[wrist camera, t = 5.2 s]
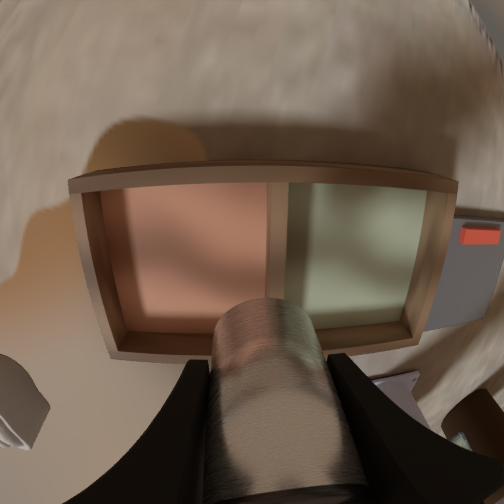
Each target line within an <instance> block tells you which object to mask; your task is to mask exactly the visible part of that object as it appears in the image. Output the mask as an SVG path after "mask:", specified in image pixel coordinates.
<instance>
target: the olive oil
mask: <svg viewBox="0 0 504 504" xmlns="http://www.w3.org/2000/svg"><path fill="white" fill-rule="evenodd" d="M441 428H442V430H443V432H444V434H445V436H446V438H447V440H449V441H451V442H452V443H455V444H457V445H459V446H461V447H463V448H465V449H468V450H470V451H473V452H475V453H478V454H481V455H484V456H487V457H491V458H494V459H498V460H501V461H502V463H503V465H504V412H503V411H502V409H501V408H500V407H499V405H498V404H497V403H496V401H495V400H494V399H493V397H492V396H491V395H490V393H489V392H488V391H487V390H486V389H480V390H478V391H476V392H474V393H472V394H471V395H469V396H468V397H466V398H465V399H464V400H462V401H461V402H460V403H459V404H458V405H456V406H455V407H454V408H453V409H452V410H451V411H450V412H449V413H448V415H447V416H446V417H445V418H444V420H443V422H442V424H441ZM503 497H504V486H503V487H501V488H500V489H499V490H498V491H496V492H495V493H493V494H492V495H491V496H489V497H488V498H486V499H485V500H483V501H484V503H485V504H495V503H496V502H498V501H499V500H500V499H502V498H503Z"/></svg>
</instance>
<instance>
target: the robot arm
mask: <svg viewBox="0 0 504 504" xmlns="http://www.w3.org/2000/svg"><path fill="white" fill-rule="evenodd" d="M326 362H327V365H328V368H329V370H330V373H331V376H332V379H333V382H334V384H335V387H336V390H337V393H338V396H339V399H340V401H341V404H342V407H343V410H344V413H345V416H346V419H347V422H348V425H349V428H350V431H351V434H352V437H353V440H354V443H355V446H356V449H357V452H358V455H359V458H360V461H361V464H362V467H363V470H364V474H365V477H366V480H367V483H368V486H369V490H370V493H371V496H372V499H373V503H374V504H485V503H484V501H483V500H485V499H486V498H488V497H489V496H491V495H492V494H493V493H495V492H496V491H498V490H499V489H500V488H501V487H503V486H504V465H503V463H502V461H501V460H498V459H494V458H491V457H487V456H484V455H481V454H478V453H475V452H473V451H470V450H468V449H465V448H463V447H461V446H459V445H457V444H455V443H452V442H451V441H449V440H447V439H445V438H443V437H441V436H440V435H438V434H436V433H434V432H433V431H431V429H430V427H429V425H428V423H427V421H426V419H425V418H424V416H423V414H422V412H421V410H420V408H419V406H418V405H417V403H416V401H415V399H414V397H413V396H412V394H411V392H412V390H413V388H414V386H415V384H416V382H417V380H418V378H419V376H420V373H419V371H414V372H409V373H405V374H401V375H396V376H392V377H387V378H382V379H377V380H370V379H369V378H368V377H367V376H366V375H365V374H364V373H363V372H362V370H361V369H360V368H359V367H358V366H357V365H356V364H355V363H354V362H353V361H352V360H351V359H350V358H349V357H348V356H347V355H346V354H345V353H337V354H328V357H327V361H326ZM209 379H210V372H209V364H208V360H199V359H190V360H188V361H187V363H186V365H185V367H184V370H183V372H182V374H181V376H180V378H179V379H178V381H177V383H176V385H175V387H174V388H173V390H172V392H171V394H170V395H169V397H168V398H167V400H166V402H165V403H164V405H163V406H162V408H161V410H160V411H159V413H158V414H157V415H156V417H155V418H154V419H153V421H152V422H151V424H150V425H149V426H148V428H147V429H146V431H145V432H144V433H143V435H141V437H140V438H139V439H138V440H137V441H136V443H135V444H134V445H133V446H132V447H131V448H130V449H129V451H128V452H127V453H126V454H125V455H124V456H123V457H122V458H121V459H120V460H119V461H118V462H117V463H116V464H115V465H114V466H113V467H112V468H110V469H109V470H108V471H107V472H106V473H105V474H104V475H102V476H101V477H100V478H99V479H98V480H96V481H95V482H94V483H93V484H91V485H90V486H89V487H88V488H86V489H85V490H83V491H82V492H80V493H79V494H77V495H76V496H74V497H73V498H71V499H69V500H68V501H66V502H64V503H63V504H202V499H203V475H204V455H205V437H206V421H207V406H208V392H209ZM495 504H504V497H503V498H502V499H500V500H499V501H498V502H496V503H495Z"/></svg>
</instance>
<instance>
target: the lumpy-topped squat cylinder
mask: <svg viewBox="0 0 504 504" xmlns="http://www.w3.org/2000/svg"><path fill="white" fill-rule="evenodd" d="M49 410H50V405H49V403H48V402H47V400H46V399H45V398H44V397H43V395H42V394H41V393H40V392H39V391H38V389H37V387H36V386H35V384H34V382H33V380H32V378H31V377H30V375H29V374H28V372H27V371H26V370H25V369H24V368H23V367H22V366H21V365H20V364H19V363H17V362H16V361H15V360H13V359H11V358H10V357H8V356H6V355H3V354H0V446H1V447H4V448H9V447H10V446H14V447H18V448H21V449H24V450H27V451H29V450H31V449H32V446H33V444H34V442H35V440H36V438H37V436H38V433H39V431H40V429H41V427H42V425H43V423H44V421H45V419H46V417H47V414H48V412H49Z"/></svg>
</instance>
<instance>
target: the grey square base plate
mask: <svg viewBox="0 0 504 504" xmlns="http://www.w3.org/2000/svg"><path fill="white" fill-rule="evenodd" d="M503 259H504V219H494V218H483V217H471V216H458V215H454V218H453V224H452V229H451V234H450V239H449V244H448V248H447V253H446V257H445V261H444V265H443V269H442V273H441V277H440V280H439V284H438V287H437V291H436V294H435V297H434V301H433V304H432V307H431V310H430V313H429V316H428V319H427V322H426V324H425V327H424V330H423V332H424V331H430V330H435V329H440V328H444V327H449V326H454V325H458V324H462V323H467V322H471V321H475V320H479V319H483V318H484V315H485V313H486V310H487V307H488V305H489V302H490V299H491V297H492V294H493V291H494V288H495V285H496V282H497V279H498V276H499V272H500V269H501V266H502V262H503Z"/></svg>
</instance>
